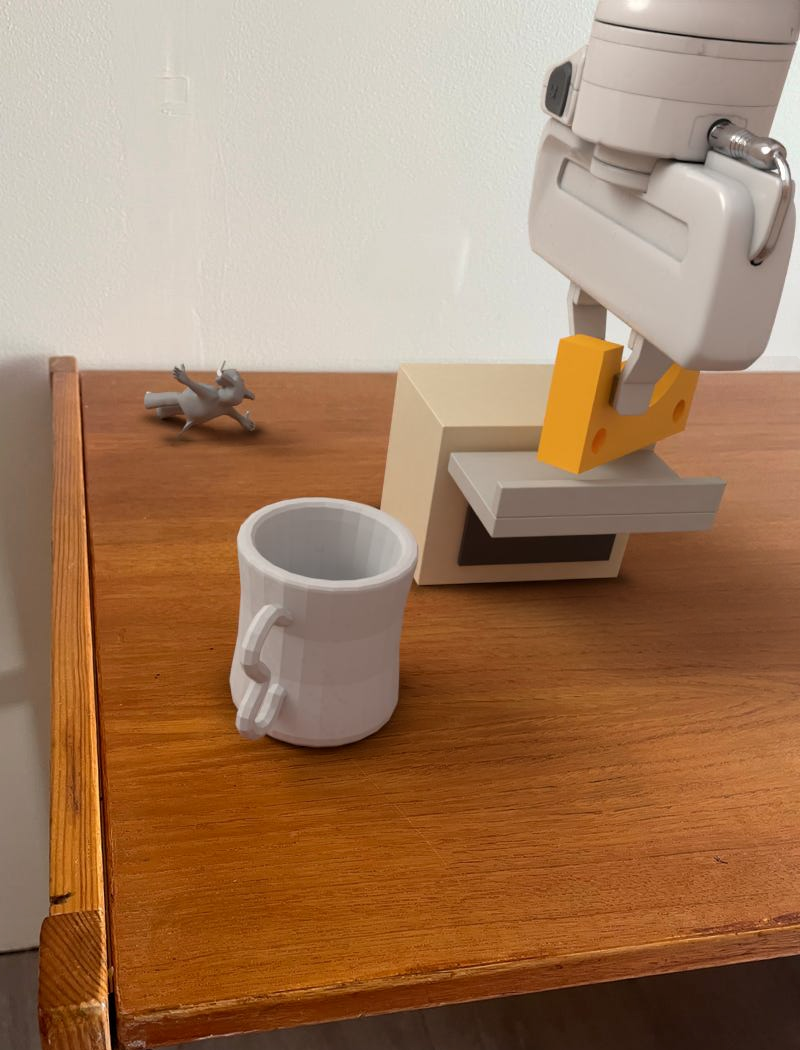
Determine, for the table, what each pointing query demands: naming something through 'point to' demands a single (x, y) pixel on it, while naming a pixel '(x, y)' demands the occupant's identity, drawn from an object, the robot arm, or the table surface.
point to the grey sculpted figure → (203, 399)
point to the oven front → (517, 483)
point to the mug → (320, 620)
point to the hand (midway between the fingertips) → (602, 389)
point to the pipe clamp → (605, 407)
